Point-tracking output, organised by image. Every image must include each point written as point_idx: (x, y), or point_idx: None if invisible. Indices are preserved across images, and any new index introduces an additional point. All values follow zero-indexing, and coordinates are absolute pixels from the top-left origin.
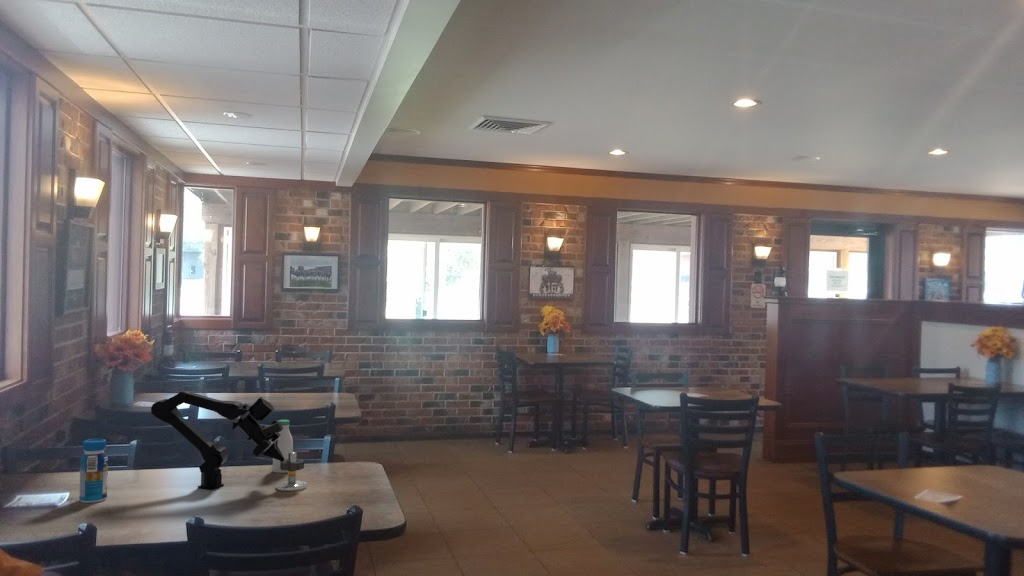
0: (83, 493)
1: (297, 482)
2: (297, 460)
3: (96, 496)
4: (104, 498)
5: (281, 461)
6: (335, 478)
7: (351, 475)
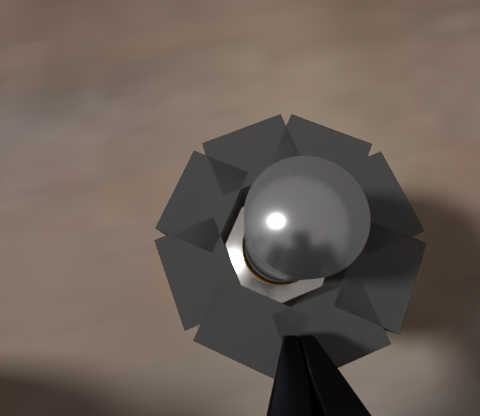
0: None
1: None
2: (241, 190)
3: None
4: None
5: None
6: (80, 72)
7: (26, 12)
